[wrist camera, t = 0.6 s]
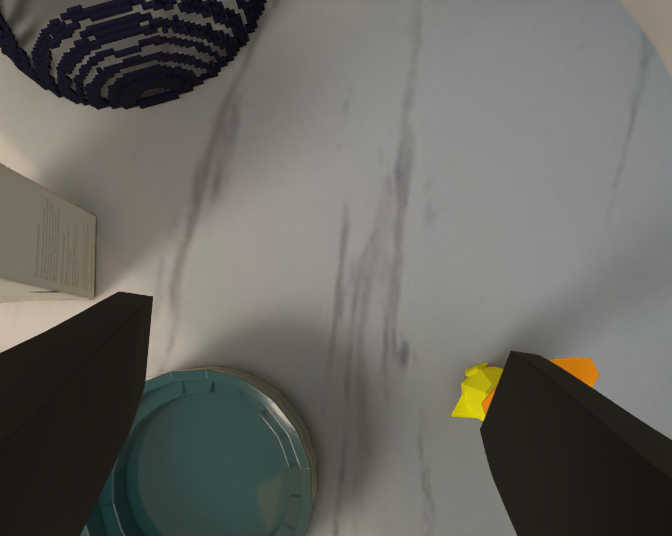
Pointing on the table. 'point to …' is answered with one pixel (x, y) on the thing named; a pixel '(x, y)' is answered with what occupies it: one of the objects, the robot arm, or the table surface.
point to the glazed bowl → (210, 462)
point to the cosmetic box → (43, 243)
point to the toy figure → (486, 379)
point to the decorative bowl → (131, 50)
